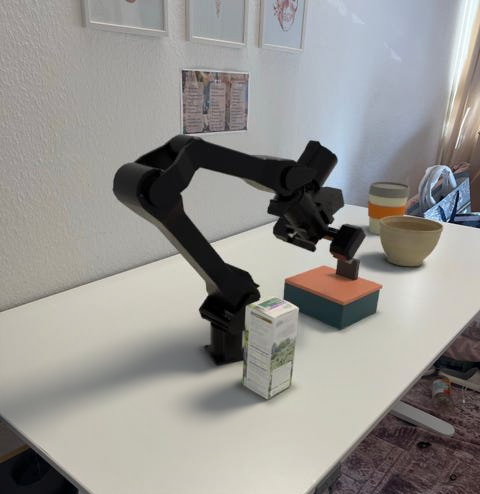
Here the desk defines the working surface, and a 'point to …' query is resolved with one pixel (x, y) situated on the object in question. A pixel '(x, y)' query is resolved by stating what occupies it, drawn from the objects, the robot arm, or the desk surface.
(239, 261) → the desk surface
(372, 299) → the box
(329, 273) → the lid
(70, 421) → the desk surface
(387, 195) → the reusable coffee cup
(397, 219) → the planter bowl
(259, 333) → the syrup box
